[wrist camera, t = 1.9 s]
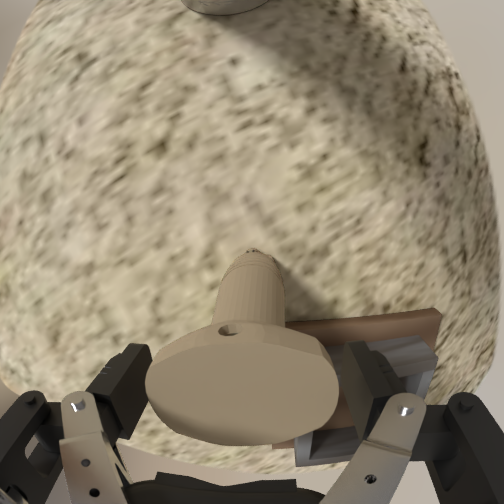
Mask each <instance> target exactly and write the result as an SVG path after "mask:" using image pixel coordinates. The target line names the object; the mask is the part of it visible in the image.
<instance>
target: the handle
mask: <svg viewBox="0 0 504 504" xmlns="http://www.w3.org/2000/svg"><path fill="white" fill-rule="evenodd" d="M145 387H146V393H147V396H148V399H149V402H150V404H151V406H152V408H153V410H154V411H155V413H156V414H157V416H158V417H159V418H160V419H161V421H162V422H163V423H165V424H166V425H167V426H168V427H169V428H170V429H172V430H173V431H175V432H176V433H179V434H182V435H185V436H188V437H191V438H194V439H198V440H201V441H205V442H209V443H213V444H218V445H225V446H256V445H268V444H276V443H280V442H284V441H287V440H290V439H293V438H296V437H298V436H301V435H304V434H306V433H308V432H311V431H313V430H316V429H318V428H320V427H322V426H323V425H324V424H325V423H326V422H327V421H328V420H329V418H330V417H331V416H332V414H333V413H334V410H335V408H336V406H337V402H338V396H339V383H338V379H337V376H336V372H335V369H334V366H333V363H332V361H331V358H330V356H329V354H328V352H327V351H326V349H325V348H324V346H323V345H322V344H321V343H320V342H319V341H318V340H317V338H315V337H312V336H310V335H307V334H304V333H301V332H298V331H295V330H292V329H288V328H285V291H284V285H283V280H282V277H281V274H280V272H279V270H278V268H277V266H276V264H275V261H274V259H273V258H272V256H271V255H265V254H262V253H260V252H259V251H258V250H257V249H255V248H251V249H248V250H247V251H246V253H245V254H243V255H241V256H240V257H238V258H237V259H235V260H234V262H233V263H232V264H231V265H230V267H229V268H228V270H227V271H226V273H225V275H224V277H223V279H222V282H221V284H220V287H219V291H218V296H217V301H216V305H215V310H214V315H213V319H212V323H211V325H210V326H207V327H204V328H201V329H199V330H196V331H194V332H191V333H189V334H187V335H185V336H183V337H181V338H179V339H177V340H176V341H174V342H172V343H170V344H169V345H167V346H165V347H164V348H162V349H161V350H159V352H158V353H157V355H156V356H155V358H154V360H153V361H152V363H151V365H150V367H149V369H148V371H147V374H146V379H145Z"/></svg>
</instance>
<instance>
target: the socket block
mask: <svg viewBox="0 0 504 504" xmlns="http://www.w3.org/2000/svg"><path fill="white" fill-rule="evenodd" d="M441 316H442V314H441V313H440V312H439V311H438V310H436V309H435V308H430V309H423V310H415V311H408V312H400V313H392V314H383V315H374V316H364V317H353V318H342V319H329V320H315V321H299V322H285V328H288V329H292V330H295V331H298V332H301V333H304V334H307V335H310V336H312V337H315V338H317V340H318V341H319V342H320V343H321V344H322V345H323V346H324V348H325V349H326V351H327V352H328V354H329V356H330V358H331V361H332V363H333V366H334V369H335V372H336V376H337V379H338V383H339V396H338V402H337V406H336V408H335V410H334V413H333V414H332V416H331V417H330V418H329V420H328V421H327V422H326V423H325V424H324V425H323V426H322V427H320V428H318V429H316V430H313V431H311V432H308V433H306V434H304V435H301V436H298V437H296V438H293V439H290V440H287V441H284V442H280V443H276V444H272V449H285V448H294V451H295V463H296V467H303V466H314V465H323V464H331V463H338V462H345V461H350V460H351V459H352V457H353V456H354V454H355V452H356V451H357V449H358V448H359V446H360V441H359V438H358V434H357V431H356V428H355V425H354V422H353V419H352V416H351V413H350V410H349V407H348V404H347V401H346V398H345V395H344V392H343V389H342V385H341V367H342V359H343V350H344V344H345V342H348V341H357V340H364V341H365V343H366V344H367V346H368V348H369V349H370V351H374V350H377V351H378V352H380V353H381V354H383V355H384V356H385V357H386V358H387V360H388V362H389V363H390V366H392V368H393V370H394V372H395V373H396V374H397V376H398V378H399V379H400V381H401V383H402V384H403V386H404V388H405V389H406V391H407V393H412V394H415V395H418V396H419V397H421V398H422V399H423V400H424V399H425V396H426V394H427V391H428V388H429V385H430V382H431V380H432V377H433V374H434V371H435V367H436V364H437V361H438V357H437V356H436V354H435V353H434V352H433V349H434V346H435V342H436V338H437V334H438V330H439V325H440V321H441Z"/></svg>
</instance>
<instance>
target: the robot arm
mask: <svg viewBox="0 0 504 504" xmlns="http://www.w3.org/2000/svg"><path fill="white" fill-rule="evenodd" d="M266 1H268V0H181V2H182V3H183V4H184V5H186V6H187V7H188V8H190V9H192V10H194V11H197V12H201V13H204V14H212V15H229V14H235V13H241V12H244V11H248V10H251V9H253V8H256V7H258V6H260V5H262V4H263V3H265V2H266ZM151 363H152V357H151V353H150V349H149V346H148V345H147V344H134V343H130V344H129V345H128V346H127V347H126V349H125V350H124V351H123V352H122V354H121V353H119V354H118V355H116V356H114V357H113V358H111V359H110V360H109V361H108V363H107V364H106V365H105V368H103V369H102V370H101V371H100V373H99V374H98V375H97V376H96V378H95V379H94V380H93V382H92V383H91V384H90V385H89V387H88V388H87V389H86V391H77V392H73V393H70V394H68V395H67V396H66V397H65V398H64V399H63V400H62V402H47V400H46V398H45V396H44V395H43V393H41V392H40V391H28V392H25V393H24V394H22V395H21V396H20V397H19V398H18V399H17V400H16V401H15V402H14V404H13V405H12V406H11V407H10V408H9V409H8V410H7V412H6V413H5V414H4V415H3V416H2V418H1V419H0V504H45V502H46V500H47V498H48V496H49V494H50V492H51V490H52V488H53V486H54V484H55V482H56V480H57V478H58V476H59V474H60V473H61V471H62V469H64V474H65V479H66V484H67V488H68V492H69V496H70V500H71V504H389V503H390V501H391V499H392V497H393V495H394V493H395V491H396V489H397V487H398V485H399V483H400V480H401V478H402V476H403V474H404V472H405V469H406V467H407V465H408V462H409V461H425V463H426V466H427V468H428V471H429V474H430V477H431V480H432V482H433V485H434V488H435V491H436V494H437V497H438V499H439V502H440V504H504V433H503V431H502V430H501V428H500V427H499V425H498V424H497V423H496V421H495V419H494V418H493V417H492V415H491V414H490V412H489V411H488V409H487V408H486V406H485V405H484V404H483V402H482V401H481V400H480V399H479V397H477V396H476V395H474V394H472V393H468V392H460V393H456V394H454V395H453V396H451V398H450V399H449V401H448V404H447V405H426V403H425V401H424V400H423V399H422V398H421V397H419V396H418V395H415V394H412V393H407V391H406V389H405V388H404V386H403V384H402V383H401V381H400V379H399V378H398V376H397V374H396V373H395V372H394V370H393V368H392V366H390V363H389V362H388V360H387V358H386V357H385V356H384V355H383V354H381V353H380V352H378V351H377V350H374V351H370V349H369V348H368V346H367V344H366V343H365V341H364V340H357V341H348V342H345V344H344V350H343V359H342V367H341V385H342V389H343V392H344V395H345V398H346V401H347V404H348V407H349V410H350V413H351V416H352V419H353V422H354V425H355V428H356V431H357V434H358V438H359V441H360V446H359V448H358V449H357V451H356V452H355V454H354V456H353V457H352V459H351V460H350V462H349V463H348V465H347V466H346V468H345V469H344V471H343V472H342V473H341V475H340V476H339V478H338V479H337V481H336V482H335V483H334V485H333V486H332V487H331V489H330V490H329V491H328V493H327V494H326V495H324V494H321V493H319V492H316V491H313V490H309V489H304V488H297V485H296V479H287V480H260V481H255V482H249V483H244V484H238V485H232V486H219V485H216V484H212V483H209V482H205V481H202V480H199V479H196V478H193V477H189V476H182V475H176V474H169V473H163V472H157V475H156V478H155V480H147V481H141V482H136V483H133V481H132V479H131V477H130V474H129V472H128V470H127V467H126V465H125V463H124V460H123V458H122V455H121V453H120V450H119V448H118V445H117V444H116V441H117V439H118V438H122V439H127V440H129V439H130V437H131V435H132V433H133V431H134V429H135V427H136V425H137V423H138V421H139V419H140V417H141V415H142V413H143V411H144V409H145V407H146V405H147V403H148V401H149V399H148V396H147V393H146V387H145V379H146V374H147V371H148V369H149V367H150V365H151ZM33 435H35V437H36V438H37V440H38V441H39V443H38V444H37V446H36V447H35V449H34V450H33V452H32V453H31V455H30V456H29V458H28V460H27V458H26V456H25V447H26V446H27V444H28V443H29V441H30V440H31V438H32V437H33Z"/></svg>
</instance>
